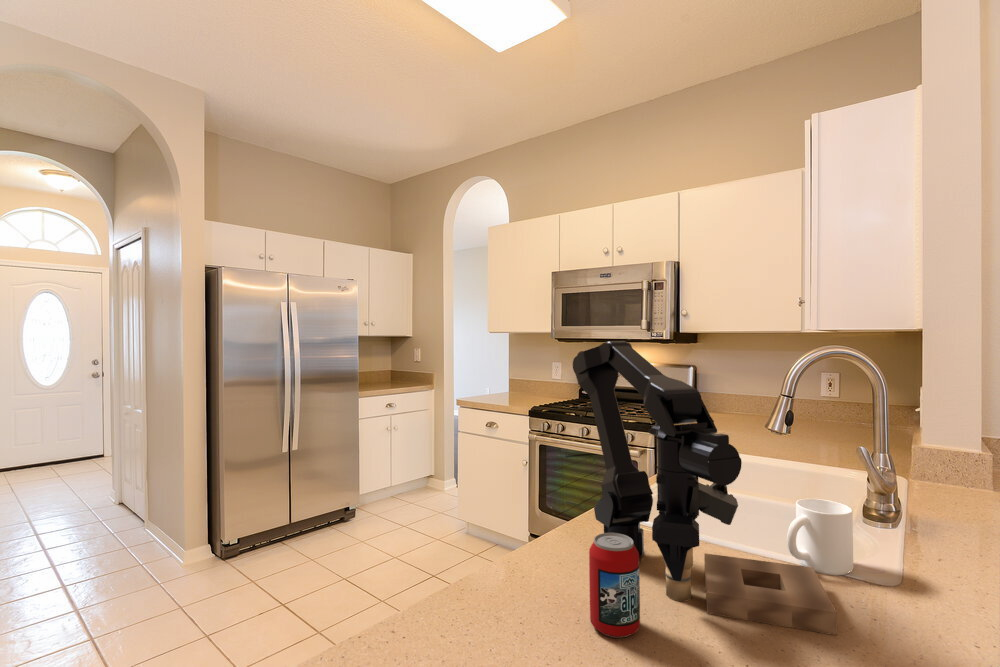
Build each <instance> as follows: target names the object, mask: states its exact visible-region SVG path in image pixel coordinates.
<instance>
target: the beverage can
mask: <svg viewBox="0 0 1000 667" xmlns="http://www.w3.org/2000/svg"><path fill="white" fill-rule="evenodd" d="M588 557H589V559H588V561H589V562H588V564H589V567H588V568H589V569H588V570H589V577H588V578H589V581H588V582H589V616H590V617H589V619H590V623H591V625H592V626H593V628H595V629H596V630H597V631H599V632H600V633H601V634H603V635H604V636H607V637H610V638H616V639H619V638H621V637H622V638H626V636H627V637H628V636H629V637H630V635H633V634H635V633H636V632H637V631H638V630H639V629H640V627H641V601H640V600H641V596H640V595H641V593H640V592H641V590H640V588H641V587H640V585H641V584H640V561H639V553H638V551H637V549H636V547H635V545H634V542H633V540H632V539H631V538H630V537H628V536H626V535H623V534H618V533H604V532H603V533H599V534H597V535H595V536H594V539H593V542H592V543H591V546H590V548H589V552H588Z"/></svg>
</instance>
